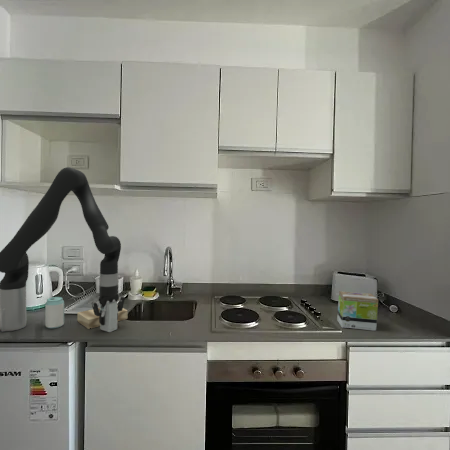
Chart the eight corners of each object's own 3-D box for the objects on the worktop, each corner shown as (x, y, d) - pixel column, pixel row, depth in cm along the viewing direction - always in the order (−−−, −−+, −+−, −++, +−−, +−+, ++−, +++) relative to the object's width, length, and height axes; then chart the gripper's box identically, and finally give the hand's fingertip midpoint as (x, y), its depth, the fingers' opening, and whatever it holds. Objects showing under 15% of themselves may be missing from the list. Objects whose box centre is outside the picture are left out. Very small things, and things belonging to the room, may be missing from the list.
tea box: (341, 328, 138) (343, 296, 137) (336, 320, 148) (338, 290, 147) (377, 331, 136) (378, 298, 135) (369, 323, 145) (371, 292, 145)
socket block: (88, 329, 129) (88, 319, 129) (77, 321, 137) (77, 312, 137) (127, 318, 142) (127, 310, 142) (115, 312, 150) (115, 304, 150)
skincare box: (117, 329, 130) (117, 301, 129) (109, 332, 126) (109, 304, 125) (108, 326, 133) (108, 299, 132) (99, 329, 129) (99, 301, 128)
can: (43, 329, 127) (43, 301, 127) (48, 323, 134) (48, 296, 133) (61, 328, 129) (61, 300, 128) (65, 322, 136) (65, 295, 135)
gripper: (120, 279, 136) (120, 316, 137) (88, 284, 126) (87, 325, 127) (129, 282, 131) (128, 321, 132) (95, 288, 121) (95, 330, 121)
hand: (108, 322), depth 129 cm, fingers closed on skincare box, 4 cm apart
